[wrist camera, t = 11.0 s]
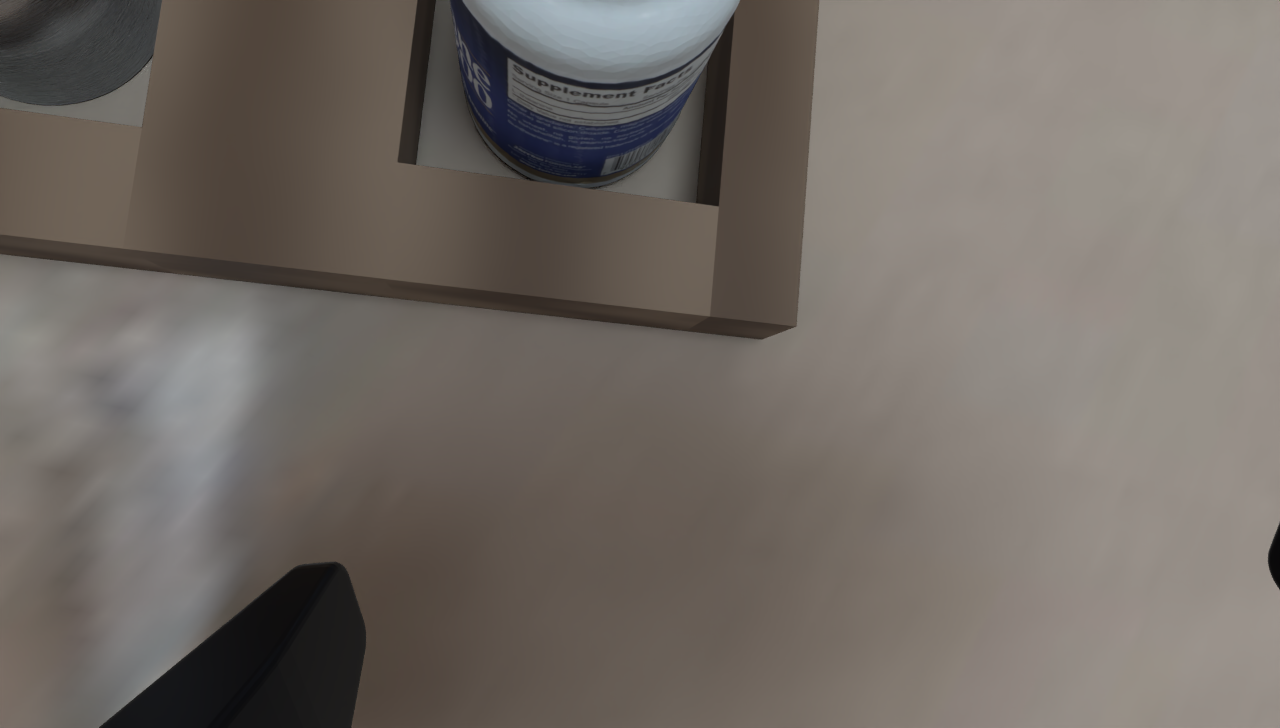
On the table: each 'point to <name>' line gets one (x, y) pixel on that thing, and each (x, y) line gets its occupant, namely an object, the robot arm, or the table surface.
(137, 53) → the steel peg
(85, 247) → the brown holder board
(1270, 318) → the table surface
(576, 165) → the pill bottle
